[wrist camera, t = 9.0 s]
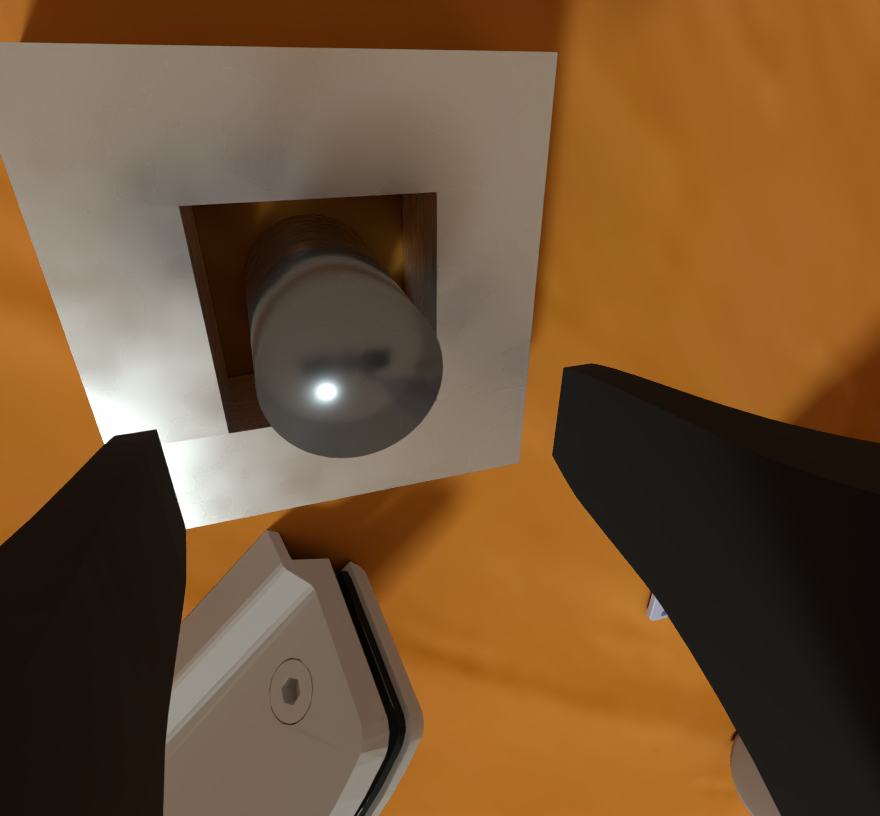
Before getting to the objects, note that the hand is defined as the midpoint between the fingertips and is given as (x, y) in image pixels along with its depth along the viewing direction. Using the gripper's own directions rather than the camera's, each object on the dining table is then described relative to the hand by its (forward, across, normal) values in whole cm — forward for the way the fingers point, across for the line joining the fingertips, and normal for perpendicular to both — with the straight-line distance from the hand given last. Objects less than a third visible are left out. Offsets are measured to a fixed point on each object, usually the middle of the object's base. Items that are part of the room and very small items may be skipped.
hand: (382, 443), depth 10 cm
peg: (+9, 0, 0) cm, 9 cm away
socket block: (+9, 0, 0) cm, 9 cm away
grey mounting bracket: (+10, +6, +18) cm, 21 cm away
